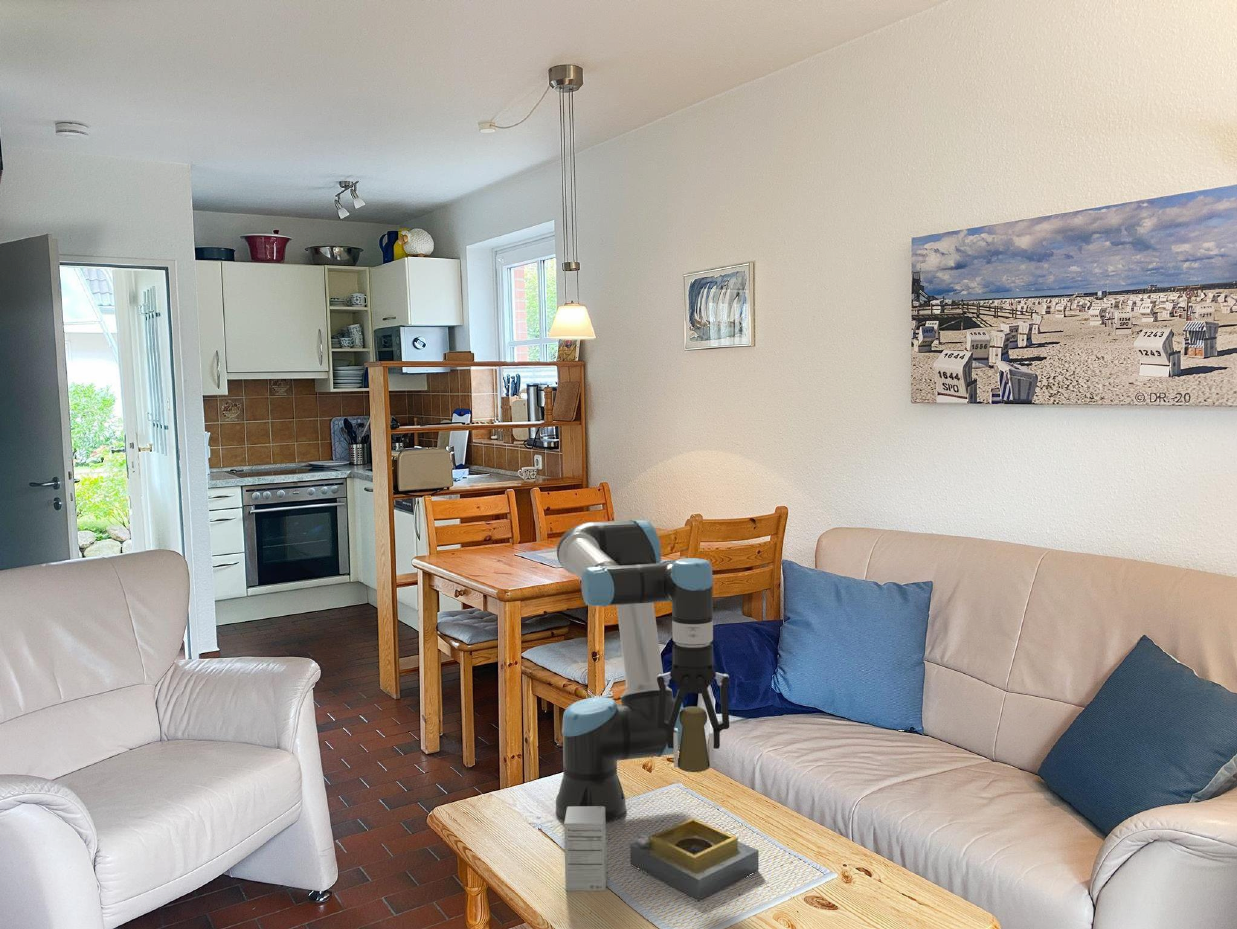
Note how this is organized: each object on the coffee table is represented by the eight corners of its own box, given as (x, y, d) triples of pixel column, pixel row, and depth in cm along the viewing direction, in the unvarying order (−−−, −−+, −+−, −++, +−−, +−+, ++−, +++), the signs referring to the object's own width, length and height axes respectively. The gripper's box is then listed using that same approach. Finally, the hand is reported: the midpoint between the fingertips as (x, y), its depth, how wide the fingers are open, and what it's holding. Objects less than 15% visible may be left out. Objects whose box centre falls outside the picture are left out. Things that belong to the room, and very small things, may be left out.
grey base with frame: (630, 864, 174) (630, 833, 174) (689, 838, 185) (689, 809, 185) (699, 902, 161) (698, 868, 161) (758, 871, 171) (758, 839, 171)
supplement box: (567, 871, 172) (566, 805, 172) (607, 871, 172) (606, 805, 171) (564, 891, 165) (563, 822, 164) (605, 891, 165) (604, 822, 164)
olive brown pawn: (708, 773, 169) (707, 714, 168) (675, 771, 170) (674, 712, 169) (711, 760, 174) (710, 703, 174) (679, 758, 176) (679, 702, 175)
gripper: (641, 647, 168) (642, 771, 169) (745, 648, 166) (746, 773, 168) (642, 637, 175) (643, 756, 176) (742, 637, 174) (743, 757, 175)
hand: (693, 764), depth 172 cm, fingers closed on olive brown pawn, 6 cm apart
